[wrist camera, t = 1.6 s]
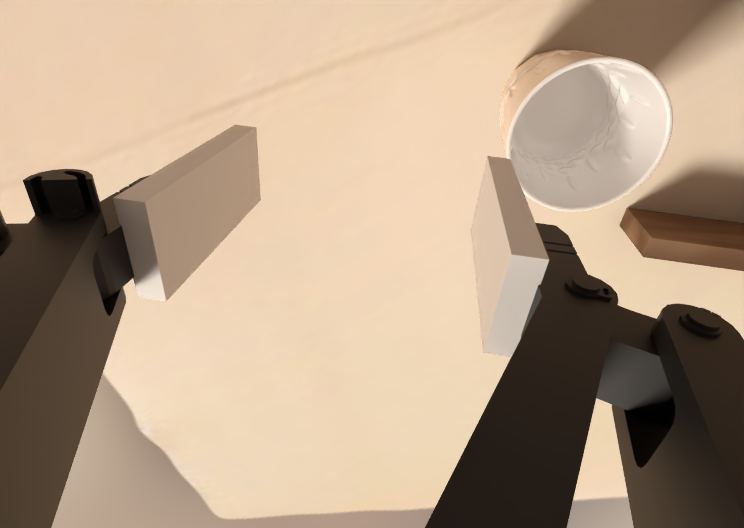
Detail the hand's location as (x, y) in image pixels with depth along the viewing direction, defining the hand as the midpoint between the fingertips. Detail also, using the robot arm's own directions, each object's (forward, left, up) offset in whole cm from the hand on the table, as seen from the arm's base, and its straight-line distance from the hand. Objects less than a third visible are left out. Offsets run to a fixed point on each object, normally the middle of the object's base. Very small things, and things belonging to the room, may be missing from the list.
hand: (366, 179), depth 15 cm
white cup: (0, +10, -19) cm, 22 cm away
